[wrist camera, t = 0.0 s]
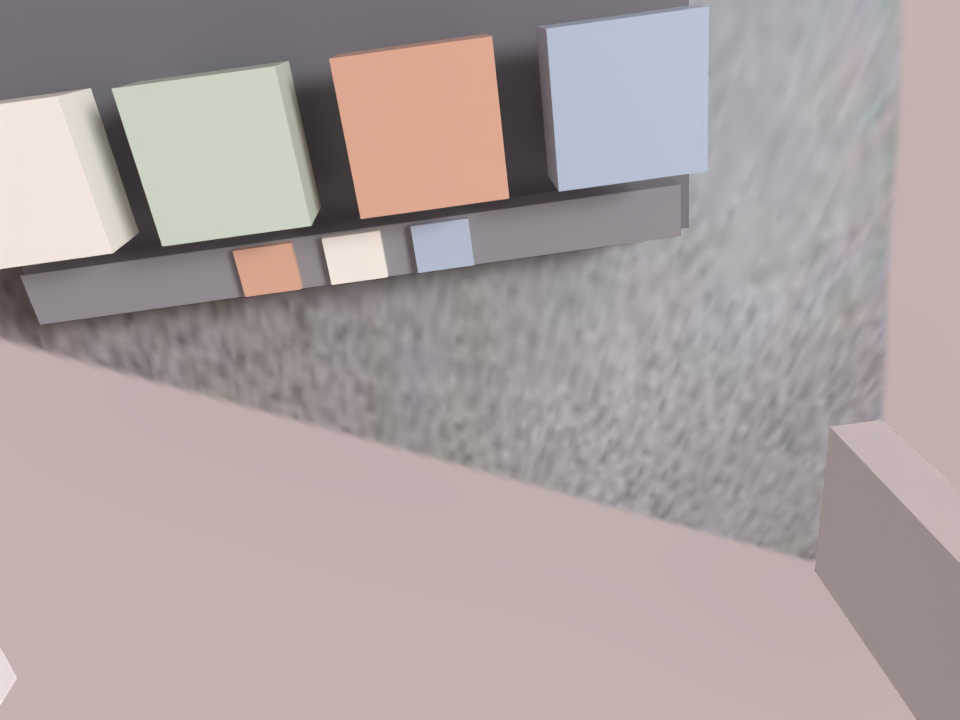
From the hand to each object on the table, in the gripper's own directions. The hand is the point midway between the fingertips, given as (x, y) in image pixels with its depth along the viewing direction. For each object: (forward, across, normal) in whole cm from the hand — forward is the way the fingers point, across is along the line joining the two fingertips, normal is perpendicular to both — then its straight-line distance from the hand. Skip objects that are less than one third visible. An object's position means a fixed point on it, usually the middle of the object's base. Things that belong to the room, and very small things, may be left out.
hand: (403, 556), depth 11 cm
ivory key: (+23, -15, +3) cm, 28 cm away
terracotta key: (+23, +1, +3) cm, 24 cm away
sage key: (+23, -7, +3) cm, 25 cm away
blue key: (+23, +9, +3) cm, 25 cm away
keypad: (+28, -3, +3) cm, 28 cm away
